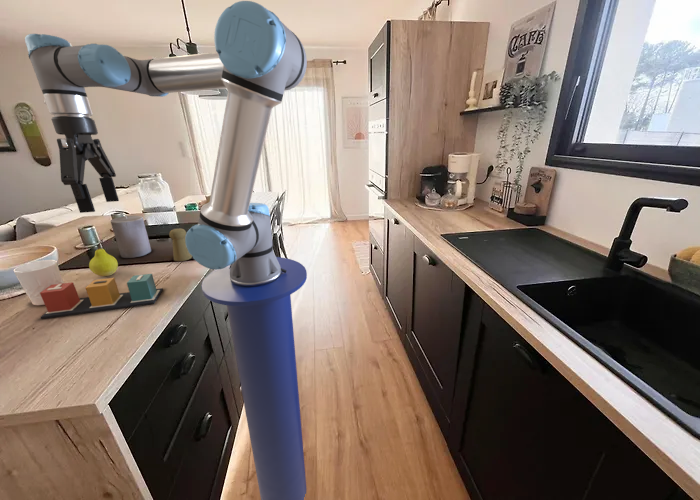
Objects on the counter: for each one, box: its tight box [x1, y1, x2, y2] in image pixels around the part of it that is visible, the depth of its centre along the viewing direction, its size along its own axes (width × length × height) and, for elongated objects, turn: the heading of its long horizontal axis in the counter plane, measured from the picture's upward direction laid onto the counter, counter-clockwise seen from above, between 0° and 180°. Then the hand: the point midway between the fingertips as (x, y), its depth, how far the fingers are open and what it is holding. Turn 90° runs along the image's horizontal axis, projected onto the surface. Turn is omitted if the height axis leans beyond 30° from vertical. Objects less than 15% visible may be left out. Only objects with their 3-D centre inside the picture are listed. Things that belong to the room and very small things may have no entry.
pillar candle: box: [110, 215, 152, 259], centre depth 107 cm, size 10×10×15 cm
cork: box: [168, 228, 193, 262], centre depth 103 cm, size 6×6×11 cm
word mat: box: [40, 287, 164, 320], centre depth 76 cm, size 24×8×1 cm, turn 107°
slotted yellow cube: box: [85, 277, 121, 307], centre depth 75 cm, size 4×4×6 cm
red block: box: [40, 282, 80, 312], centre depth 72 cm, size 4×4×6 cm
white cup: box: [12, 259, 64, 306], centre depth 76 cm, size 8×8×10 cm
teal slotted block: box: [126, 273, 157, 301], centre depth 77 cm, size 4×4×6 cm
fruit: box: [88, 238, 119, 277], centre depth 90 cm, size 7×7×12 cm
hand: (101, 206), depth 75 cm, fingers open, 13 cm apart
